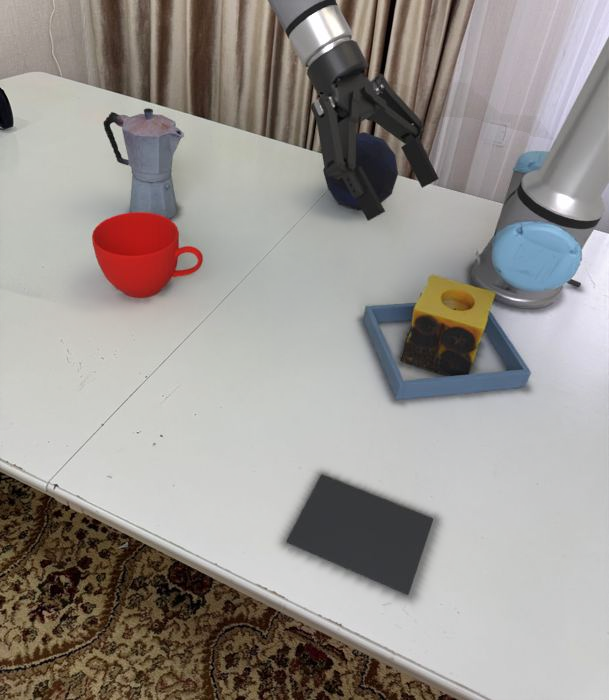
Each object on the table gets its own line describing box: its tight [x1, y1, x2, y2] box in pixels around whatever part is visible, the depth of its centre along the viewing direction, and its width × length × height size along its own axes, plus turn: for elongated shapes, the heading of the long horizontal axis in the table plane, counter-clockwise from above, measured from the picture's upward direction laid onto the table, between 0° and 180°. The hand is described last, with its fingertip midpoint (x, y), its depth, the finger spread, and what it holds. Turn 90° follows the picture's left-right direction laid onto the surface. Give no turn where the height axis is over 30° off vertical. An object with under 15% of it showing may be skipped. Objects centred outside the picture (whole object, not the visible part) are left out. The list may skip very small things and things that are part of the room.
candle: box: [399, 274, 495, 377], centre depth 91 cm, size 10×10×10 cm
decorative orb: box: [322, 131, 399, 211], centre depth 123 cm, size 14×15×15 cm
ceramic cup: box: [91, 212, 204, 299], centre depth 98 cm, size 13×17×10 cm
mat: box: [286, 474, 434, 596], centre depth 70 cm, size 14×10×1 cm
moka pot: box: [102, 107, 185, 220], centre depth 113 cm, size 10×15×20 cm, turn 78°
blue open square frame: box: [362, 302, 532, 401], centre depth 93 cm, size 20×18×3 cm
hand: (404, 199), depth 85 cm, fingers open, 13 cm apart
